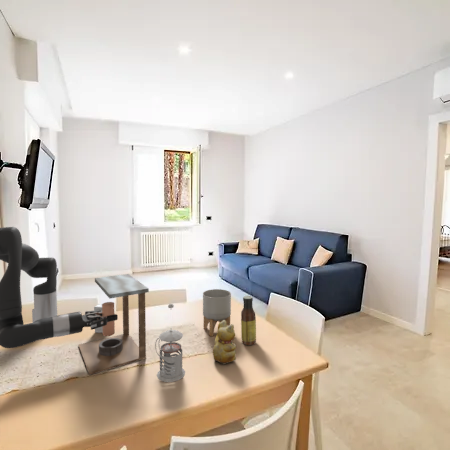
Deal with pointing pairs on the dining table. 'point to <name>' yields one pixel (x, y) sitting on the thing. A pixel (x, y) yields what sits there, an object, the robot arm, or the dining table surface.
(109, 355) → the slanted top stand
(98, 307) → the skincare box
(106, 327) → the peg
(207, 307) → the planter
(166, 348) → the french press
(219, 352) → the decorative figurine
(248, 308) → the sauce bottle
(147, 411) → the dining table surface
